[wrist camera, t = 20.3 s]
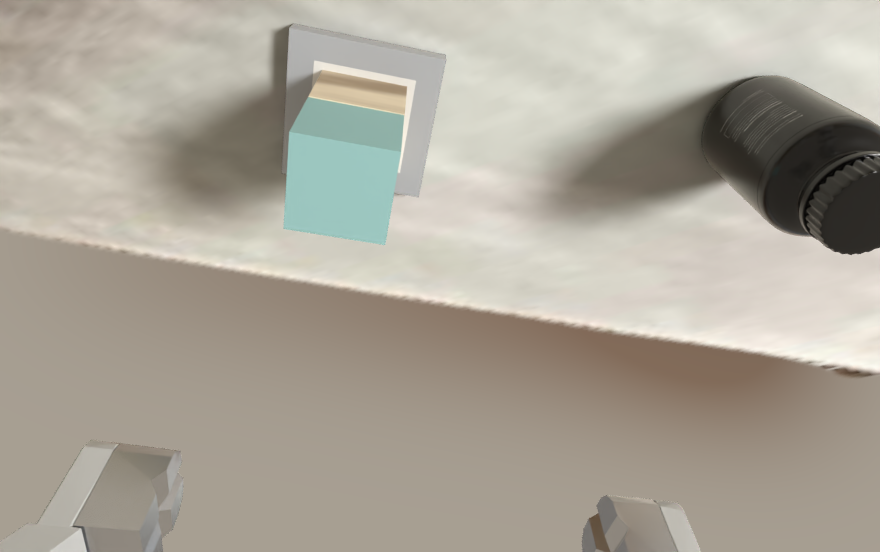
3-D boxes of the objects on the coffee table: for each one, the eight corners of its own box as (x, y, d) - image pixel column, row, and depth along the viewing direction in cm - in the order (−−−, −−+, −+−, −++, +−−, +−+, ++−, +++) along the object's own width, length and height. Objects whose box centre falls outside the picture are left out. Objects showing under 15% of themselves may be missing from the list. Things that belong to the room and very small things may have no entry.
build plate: (293, 23, 33) (289, 27, 32) (445, 54, 35) (446, 60, 34) (285, 166, 38) (281, 173, 37) (418, 189, 40) (418, 197, 39)
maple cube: (322, 69, 34) (308, 95, 30) (407, 86, 34) (404, 114, 30) (315, 149, 36) (301, 183, 32) (394, 163, 37) (390, 198, 33)
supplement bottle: (702, 187, 40) (794, 288, 30) (694, 93, 36) (795, 173, 26) (806, 156, 39) (937, 250, 29) (809, 56, 35) (959, 125, 25)
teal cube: (308, 97, 30) (289, 131, 26) (404, 115, 30) (401, 152, 26) (301, 184, 32) (283, 228, 28) (389, 199, 33) (385, 245, 29)
